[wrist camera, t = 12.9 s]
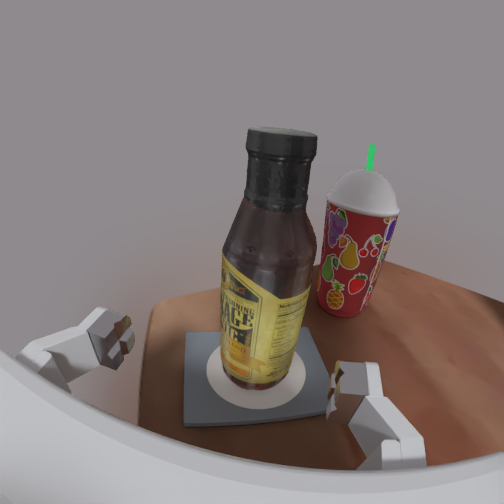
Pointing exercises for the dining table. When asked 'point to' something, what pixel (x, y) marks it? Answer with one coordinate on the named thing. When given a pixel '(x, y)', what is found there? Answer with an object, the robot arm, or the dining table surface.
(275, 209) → the sauce bottle
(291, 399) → the card
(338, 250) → the smoothie
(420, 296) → the dining table surface
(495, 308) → the dining table surface
